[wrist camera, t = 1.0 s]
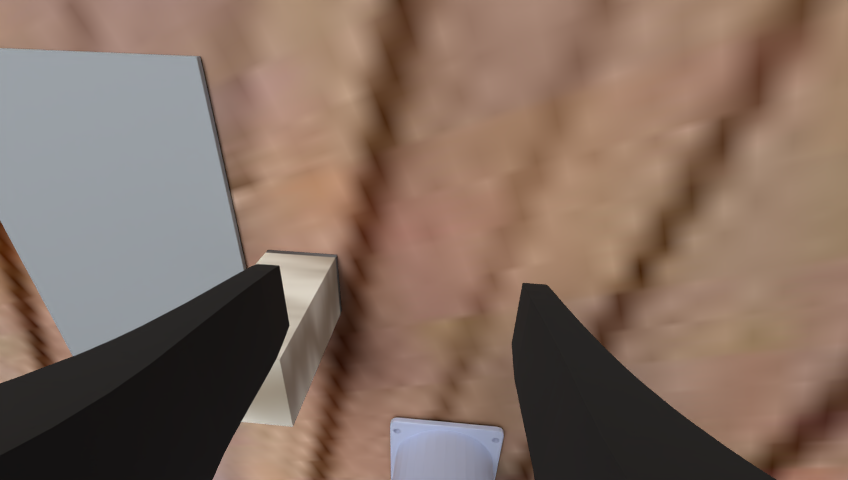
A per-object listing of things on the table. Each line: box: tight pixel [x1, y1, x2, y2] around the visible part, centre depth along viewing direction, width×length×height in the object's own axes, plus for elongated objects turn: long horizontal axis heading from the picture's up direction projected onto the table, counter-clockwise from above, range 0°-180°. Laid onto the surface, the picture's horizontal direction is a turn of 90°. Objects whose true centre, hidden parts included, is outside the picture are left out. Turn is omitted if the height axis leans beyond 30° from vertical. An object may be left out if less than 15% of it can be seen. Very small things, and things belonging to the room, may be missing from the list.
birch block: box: [241, 250, 342, 427], centre depth 20 cm, size 4×4×8 cm
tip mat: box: [0, 48, 246, 356], centre depth 24 cm, size 24×14×1 cm, turn 178°
